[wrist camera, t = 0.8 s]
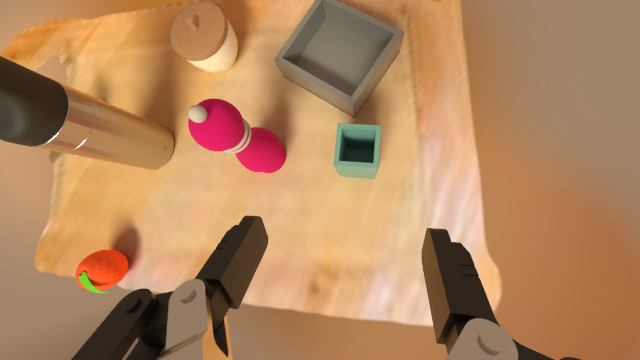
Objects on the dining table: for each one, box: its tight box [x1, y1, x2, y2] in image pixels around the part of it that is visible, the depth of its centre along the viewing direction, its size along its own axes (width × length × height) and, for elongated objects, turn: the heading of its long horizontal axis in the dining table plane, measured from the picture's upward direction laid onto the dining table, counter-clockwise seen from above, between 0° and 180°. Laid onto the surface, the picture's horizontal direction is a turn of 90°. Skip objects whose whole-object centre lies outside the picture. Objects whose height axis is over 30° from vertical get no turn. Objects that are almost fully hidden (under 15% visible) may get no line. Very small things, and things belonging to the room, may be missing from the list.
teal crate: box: [334, 124, 381, 179], centre depth 35 cm, size 6×6×10 cm
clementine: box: [76, 250, 128, 293], centre depth 42 cm, size 8×7×7 cm
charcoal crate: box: [275, 0, 404, 118], centre depth 40 cm, size 16×14×5 cm
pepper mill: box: [188, 99, 286, 173], centre depth 33 cm, size 7×7×20 cm
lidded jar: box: [170, 1, 238, 72], centre depth 43 cm, size 11×11×9 cm
